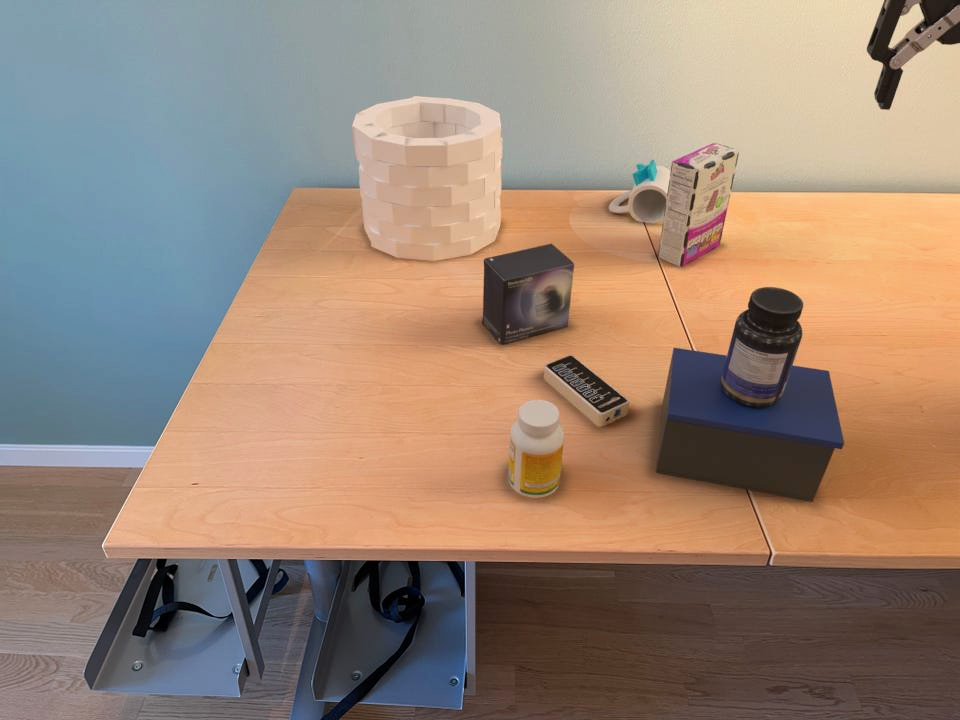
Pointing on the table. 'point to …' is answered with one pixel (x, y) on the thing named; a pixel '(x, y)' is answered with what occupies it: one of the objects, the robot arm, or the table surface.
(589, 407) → the multiport hub
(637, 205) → the mug
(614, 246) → the table surface
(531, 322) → the small box
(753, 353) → the pill bottle
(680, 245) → the candy bar box
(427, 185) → the basket
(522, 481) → the supplement bottle
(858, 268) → the table surface
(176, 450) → the table surface
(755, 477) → the storage box
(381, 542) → the table surface
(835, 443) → the storage lid
